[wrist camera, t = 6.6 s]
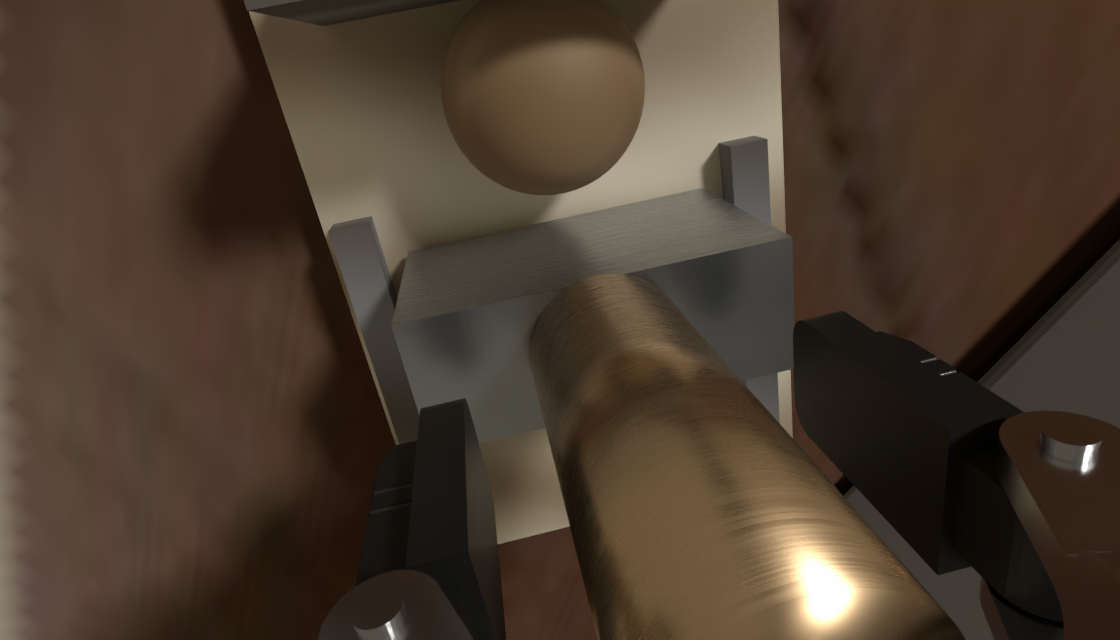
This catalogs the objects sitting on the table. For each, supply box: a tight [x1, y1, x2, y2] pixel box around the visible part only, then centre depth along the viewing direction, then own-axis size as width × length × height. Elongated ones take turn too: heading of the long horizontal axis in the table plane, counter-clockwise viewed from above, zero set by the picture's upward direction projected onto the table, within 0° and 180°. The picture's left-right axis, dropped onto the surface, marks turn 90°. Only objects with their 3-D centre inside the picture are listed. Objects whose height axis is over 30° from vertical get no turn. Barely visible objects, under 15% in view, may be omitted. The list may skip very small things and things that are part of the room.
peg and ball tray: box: [244, 0, 793, 544], centre depth 16 cm, size 18×12×7 cm
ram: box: [391, 188, 965, 640], centre depth 12 cm, size 3×8×13 cm, turn 100°
